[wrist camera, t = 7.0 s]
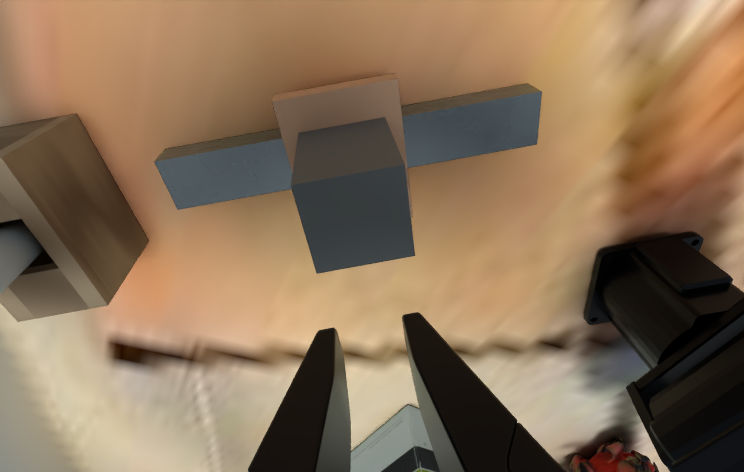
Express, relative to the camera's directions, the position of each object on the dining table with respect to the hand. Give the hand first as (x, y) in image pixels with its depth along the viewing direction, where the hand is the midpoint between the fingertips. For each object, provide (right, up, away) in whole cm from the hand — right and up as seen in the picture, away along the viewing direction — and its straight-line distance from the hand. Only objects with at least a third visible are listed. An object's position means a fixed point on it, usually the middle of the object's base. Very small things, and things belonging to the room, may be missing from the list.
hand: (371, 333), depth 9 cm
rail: (-1, +7, +10) cm, 13 cm away
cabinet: (-15, +4, +10) cm, 18 cm away
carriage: (-1, +7, +10) cm, 12 cm away
